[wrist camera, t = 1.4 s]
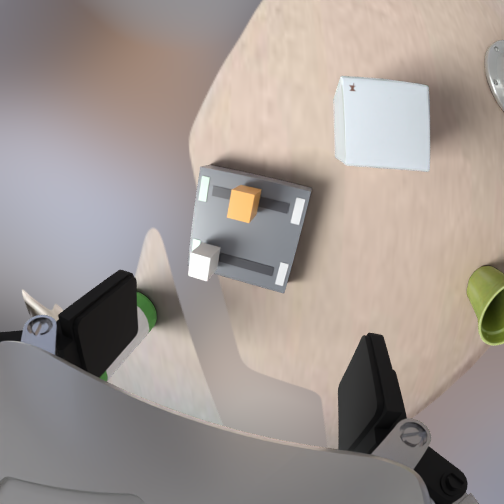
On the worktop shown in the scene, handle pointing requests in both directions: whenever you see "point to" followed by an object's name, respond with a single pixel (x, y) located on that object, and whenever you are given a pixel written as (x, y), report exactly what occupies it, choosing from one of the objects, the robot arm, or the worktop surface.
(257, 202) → the block
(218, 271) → the slider switch panel
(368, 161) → the supplement box
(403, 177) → the worktop surface
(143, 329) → the wine bottle
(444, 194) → the worktop surface
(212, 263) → the white slider switch
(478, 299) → the plant pot
